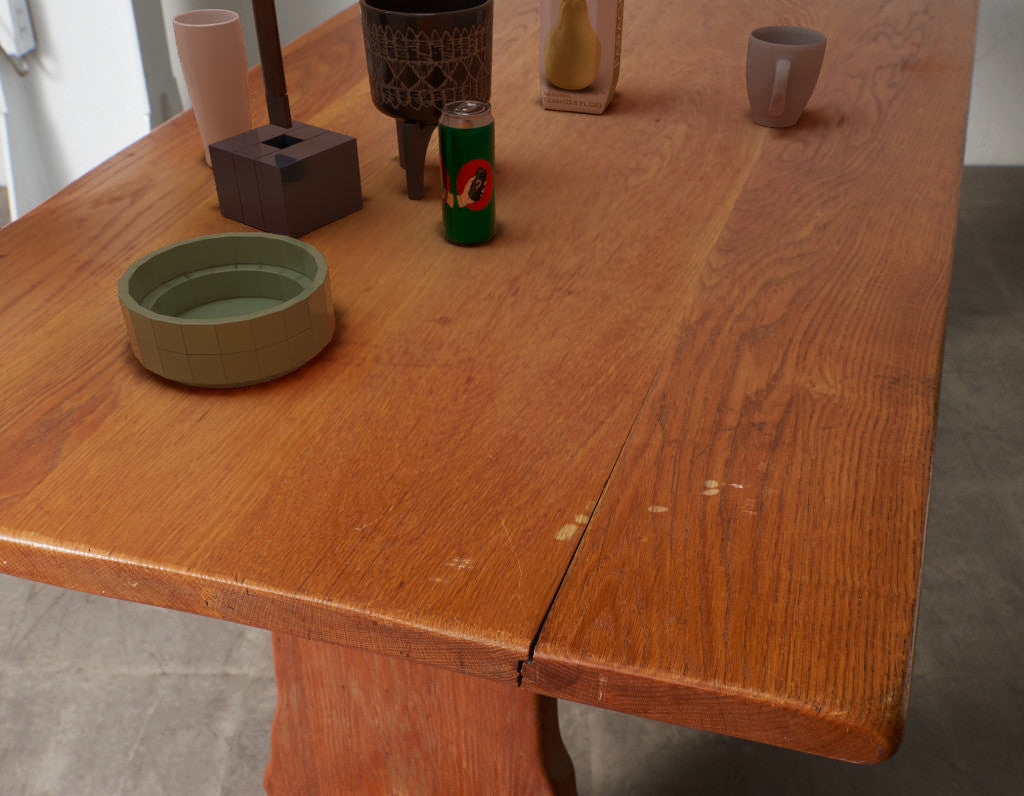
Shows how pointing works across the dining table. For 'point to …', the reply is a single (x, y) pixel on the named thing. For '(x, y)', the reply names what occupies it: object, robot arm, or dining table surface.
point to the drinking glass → (214, 72)
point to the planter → (425, 67)
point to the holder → (287, 177)
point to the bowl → (228, 308)
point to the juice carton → (579, 53)
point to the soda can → (467, 172)
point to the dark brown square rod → (272, 63)
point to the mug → (782, 72)
